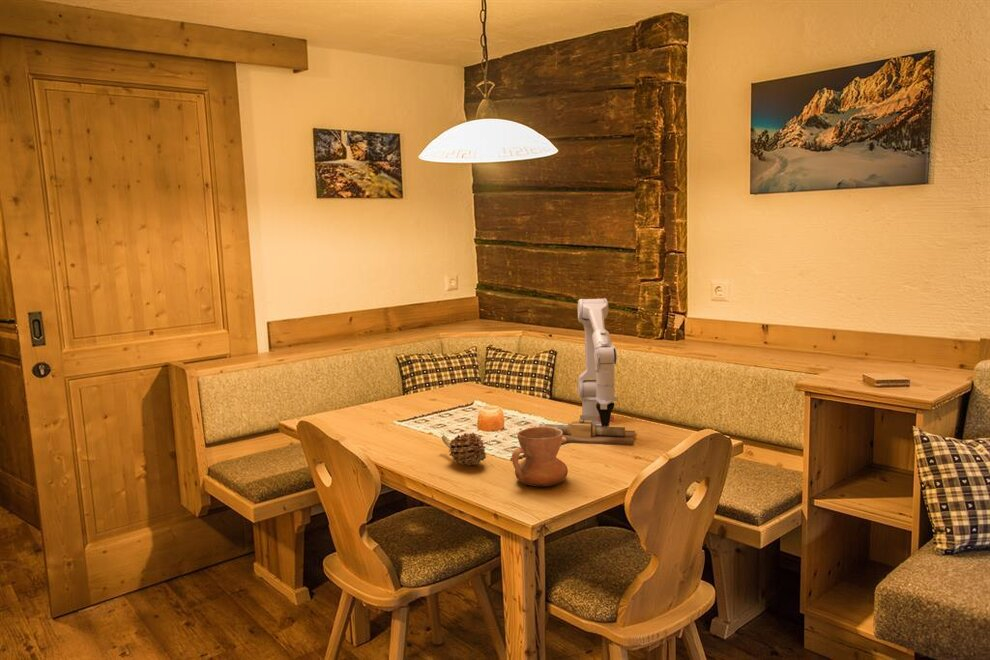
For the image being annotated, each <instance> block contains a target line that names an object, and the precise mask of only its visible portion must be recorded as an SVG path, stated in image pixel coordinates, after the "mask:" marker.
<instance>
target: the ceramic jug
mask: <svg viewBox="0 0 990 660" xmlns="http://www.w3.org/2000/svg"><path fill="white" fill-rule="evenodd" d="M516 434H517V440H518V443H519V446H520V447H517V448H515V449H514V450H513V451H512V454H511V461H512V462H511V463H512V465H513V468H514V476H515V477H516V479H517V480H518V481H519V482H521V483H523V484H524V485H529V486H532V487H538V488H539V487H541V488H542V487H551V486H554V485H557V484H560V483H561V482H563V481H564V480H565V479H566V478H567V476H568V473H569V471H568V470H569V469H568V465H567V464H566V463H565V462H563V461H562V460H561V459H559V458H557V456H558V453H559V451H560V448H561V444H562V443H564V442H566V438H565V437H563V432H562V431H561V430H560V429H559V430H557V428H554V427H547V426H542V427H539V426H533V427H531V426H530V427H527V428H524V429H521V430H519V431H518V432H517V433H516ZM541 437H548V438H542V439H541ZM521 454H523V455H524V457H525V459H523V460H522V461H521V462H520V463H519V458H520V455H521Z"/></svg>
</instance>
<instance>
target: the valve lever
mask: <svg viewBox="0 0 990 660" xmlns="http://www.w3.org/2000/svg"><path fill="white" fill-rule="evenodd" d="M578 420H579V422H584V420H586V421H598V422H601V420H600V415H599V416H590V415H582V414H580V416H579V419H578ZM614 422H615V415H612V414H611V416H610V422H609V423H614Z"/></svg>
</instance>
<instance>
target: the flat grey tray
mask: <svg viewBox="0 0 990 660" xmlns="http://www.w3.org/2000/svg"><path fill="white" fill-rule="evenodd" d="M542 426H547V427H554V428H557V430H559V429H560V430H561V431H562V432H563V437H565V438H566V442H568V443H569V444H590V445H613V446H631V445H633V444H634V443H635V437H634V436H636V430H627V429H626V427H625V426H596V425H594V424H592V421H584V422H579V419H577V420H576V419H573V420H572V422H571V423H568V424H556V423H554V424H552V423H551V424H549V423H548V424H547V423H539V425H538V427H542ZM542 438H548V437H541V439H542ZM633 446H634V445H633Z"/></svg>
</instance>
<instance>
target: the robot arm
mask: <svg viewBox="0 0 990 660" xmlns="http://www.w3.org/2000/svg"><path fill="white" fill-rule="evenodd" d="M608 314H609V301H608V299H607V298H605V297H604V298H579V299H578V301H577V320H578V323H581V324H582V325H583V330H584V351H585V352H584V354H585V355H584V356H585V370H584V371H583V372H581V373H580V374H579V375H578V377H577V395H578V397H579V398H580V399H582V400H581V402H582V403H581V405H582V406H581V411H582V413H581V415H590V416H599V415H600V420H601V422H598V421H592V424H594V425H596V426H605V427H610V426H609V425H610V423H611V422H610V416H611V415H612V412H613V409H614V408H615V402H618V401H619V397H618V396H617V397H615V365H616V364H617V361H618V360H617V357H618V353H617V347H615V345H614V344H613V343H612V339H611V335H610V332H609V331H608V330H607V329H606V327H605V326H606V325H605V320H606V319H607V317H608ZM584 421H586V420H584Z"/></svg>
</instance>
